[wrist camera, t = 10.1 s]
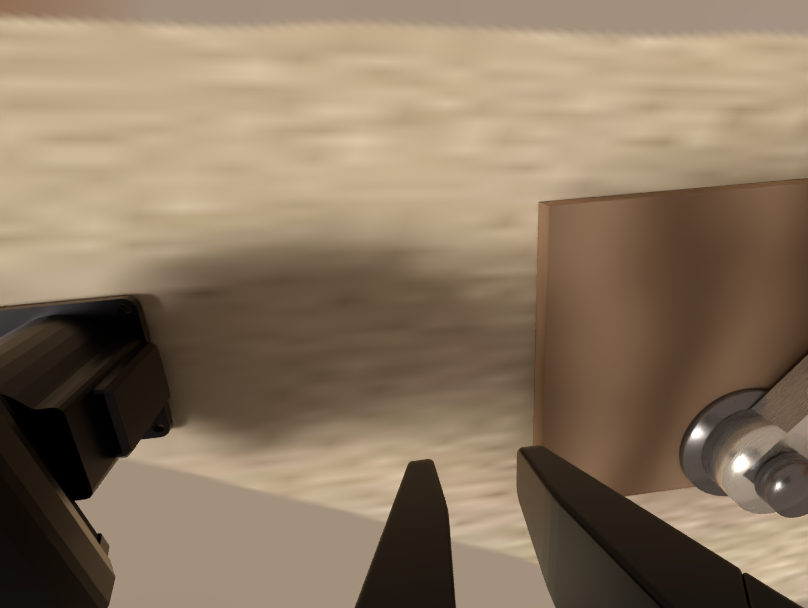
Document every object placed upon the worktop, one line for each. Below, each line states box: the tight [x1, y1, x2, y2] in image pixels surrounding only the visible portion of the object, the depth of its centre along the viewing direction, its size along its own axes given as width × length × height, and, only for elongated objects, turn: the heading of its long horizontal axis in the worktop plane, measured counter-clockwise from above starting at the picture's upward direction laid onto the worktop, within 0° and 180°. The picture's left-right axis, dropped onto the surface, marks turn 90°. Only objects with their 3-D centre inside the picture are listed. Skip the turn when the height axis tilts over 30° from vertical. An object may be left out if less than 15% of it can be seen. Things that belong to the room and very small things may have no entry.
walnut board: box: [533, 178, 808, 496], centre depth 23 cm, size 24×15×1 cm, turn 94°
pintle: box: [679, 388, 808, 518], centre depth 22 cm, size 6×6×4 cm
